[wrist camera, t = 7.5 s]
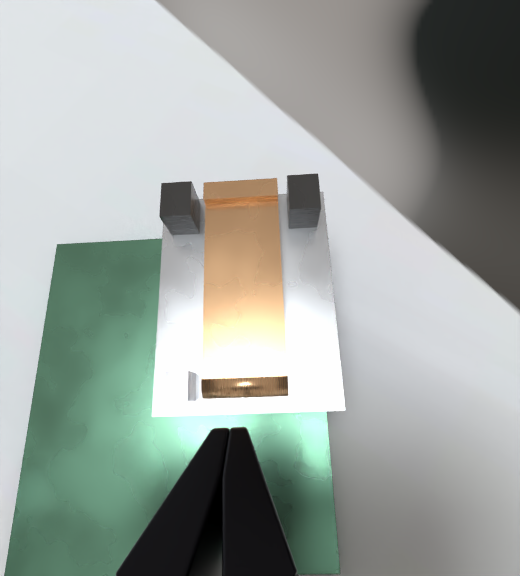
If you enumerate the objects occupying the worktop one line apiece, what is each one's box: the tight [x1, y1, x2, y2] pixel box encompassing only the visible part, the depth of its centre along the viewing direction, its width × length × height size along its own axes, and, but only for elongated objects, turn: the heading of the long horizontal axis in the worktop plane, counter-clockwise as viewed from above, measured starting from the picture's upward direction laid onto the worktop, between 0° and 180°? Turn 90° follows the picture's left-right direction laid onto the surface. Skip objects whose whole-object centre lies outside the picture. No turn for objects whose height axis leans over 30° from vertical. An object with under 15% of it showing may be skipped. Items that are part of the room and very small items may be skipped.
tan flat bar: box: [201, 178, 289, 399], centre depth 14 cm, size 8×3×1 cm, turn 2°
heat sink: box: [4, 174, 345, 576], centre depth 15 cm, size 17×16×8 cm
